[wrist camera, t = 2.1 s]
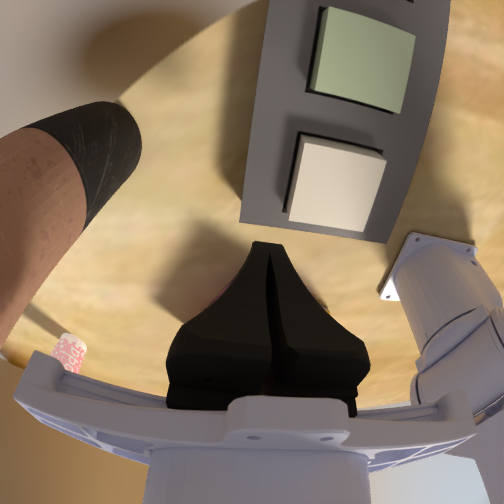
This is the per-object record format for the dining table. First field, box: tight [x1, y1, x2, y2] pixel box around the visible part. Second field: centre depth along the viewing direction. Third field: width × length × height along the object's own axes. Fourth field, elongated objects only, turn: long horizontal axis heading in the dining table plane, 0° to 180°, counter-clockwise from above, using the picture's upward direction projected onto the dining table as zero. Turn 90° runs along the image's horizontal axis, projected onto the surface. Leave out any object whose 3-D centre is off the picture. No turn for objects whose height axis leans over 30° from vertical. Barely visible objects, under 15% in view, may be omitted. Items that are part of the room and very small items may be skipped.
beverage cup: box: [50, 333, 87, 374], centre depth 31 cm, size 6×6×14 cm
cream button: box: [287, 134, 387, 232], centre depth 17 cm, size 5×5×2 cm
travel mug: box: [0, 101, 142, 349], centre depth 11 cm, size 8×8×20 cm
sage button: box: [310, 6, 416, 114], centre depth 12 cm, size 5×5×2 cm
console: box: [239, 0, 451, 244], centre depth 14 cm, size 11×24×3 cm, turn 173°
